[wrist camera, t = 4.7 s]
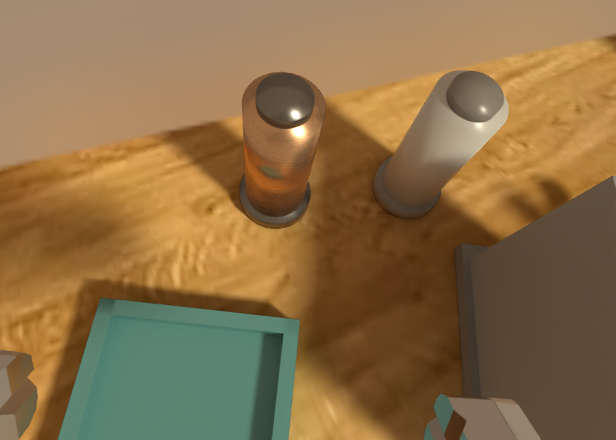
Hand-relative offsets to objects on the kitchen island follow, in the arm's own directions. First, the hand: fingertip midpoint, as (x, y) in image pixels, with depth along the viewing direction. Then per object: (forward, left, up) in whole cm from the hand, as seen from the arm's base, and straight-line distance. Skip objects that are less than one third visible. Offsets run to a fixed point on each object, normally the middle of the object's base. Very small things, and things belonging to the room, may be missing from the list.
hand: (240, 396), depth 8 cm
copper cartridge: (0, -12, -15) cm, 19 cm away
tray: (+3, +3, -15) cm, 16 cm away
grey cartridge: (-9, -14, -15) cm, 22 cm away
